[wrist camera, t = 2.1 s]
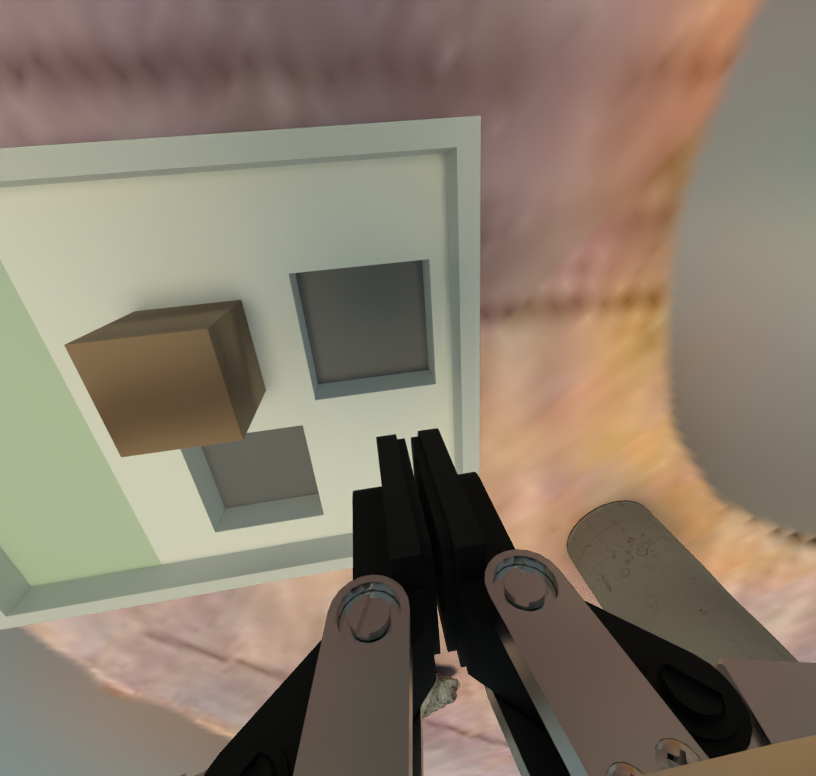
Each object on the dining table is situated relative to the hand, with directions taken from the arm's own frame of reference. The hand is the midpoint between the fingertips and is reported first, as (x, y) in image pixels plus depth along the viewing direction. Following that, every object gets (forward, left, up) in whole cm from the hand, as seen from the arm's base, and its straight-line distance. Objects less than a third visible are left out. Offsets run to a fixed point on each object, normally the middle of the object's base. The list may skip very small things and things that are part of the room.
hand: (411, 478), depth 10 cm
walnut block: (-1, -9, -12) cm, 15 cm away
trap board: (+2, -10, -14) cm, 17 cm away
